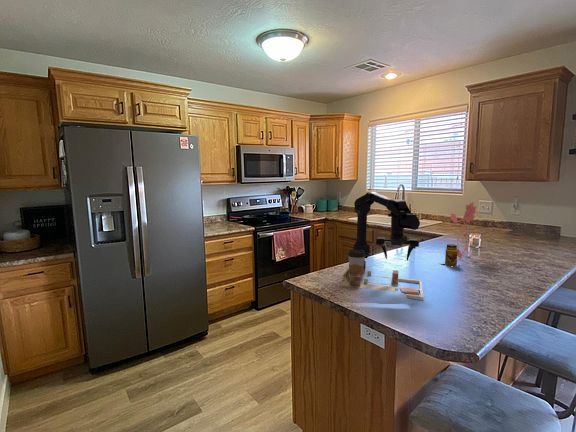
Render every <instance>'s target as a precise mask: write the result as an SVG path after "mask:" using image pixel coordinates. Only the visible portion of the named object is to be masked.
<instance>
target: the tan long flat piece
mask: <svg viewBox="0 0 576 432" xmlns="http://www.w3.org/2000/svg"><path fill="white" fill-rule="evenodd" d="M340 286H342V287H351V288H358V289H359V288H361V289H369V290H376V291H384V292H386V291H387V292H392V293H396V291H397V292H398V290H399V289H398V288H397V287H396V286H391V285H382V284H373V283H368V284H366V283H364V282H360V287H359V286H350V283H349V281H347V280H343V281H342V282H341V284H340Z"/></svg>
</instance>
